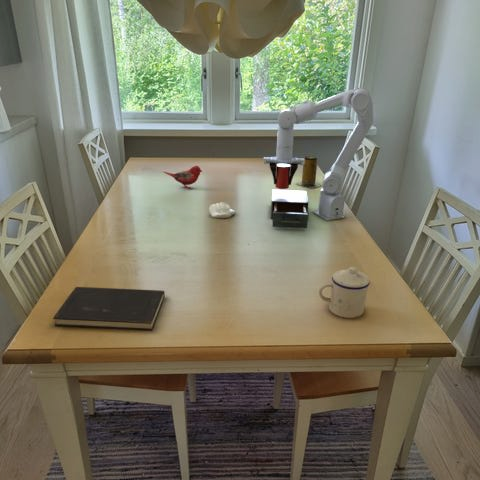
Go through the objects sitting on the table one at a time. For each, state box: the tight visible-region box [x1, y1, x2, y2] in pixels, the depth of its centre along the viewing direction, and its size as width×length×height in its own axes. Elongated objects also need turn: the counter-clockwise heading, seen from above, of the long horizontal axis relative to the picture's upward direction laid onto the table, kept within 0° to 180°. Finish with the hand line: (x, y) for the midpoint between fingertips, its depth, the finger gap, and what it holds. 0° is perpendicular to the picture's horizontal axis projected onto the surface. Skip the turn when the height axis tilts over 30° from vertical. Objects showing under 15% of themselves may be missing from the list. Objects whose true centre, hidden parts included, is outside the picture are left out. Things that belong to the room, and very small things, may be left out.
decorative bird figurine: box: [163, 165, 203, 190], centre depth 204 cm, size 3×18×10 cm, turn 75°
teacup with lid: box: [318, 266, 371, 319], centre depth 119 cm, size 12×9×12 cm
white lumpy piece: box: [208, 201, 236, 219], centre depth 178 cm, size 10×4×10 cm
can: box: [274, 164, 291, 190], centre depth 177 cm, size 5×5×8 cm
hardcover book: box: [52, 286, 166, 332], centre depth 118 cm, size 16×23×2 cm
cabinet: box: [270, 189, 309, 220], centre depth 180 cm, size 14×13×7 cm
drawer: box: [272, 203, 309, 229], centre depth 170 cm, size 17×12×5 cm
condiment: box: [297, 155, 322, 189], centre depth 211 cm, size 7×8×12 cm
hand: (282, 183), depth 179 cm, fingers closed on can, 5 cm apart
